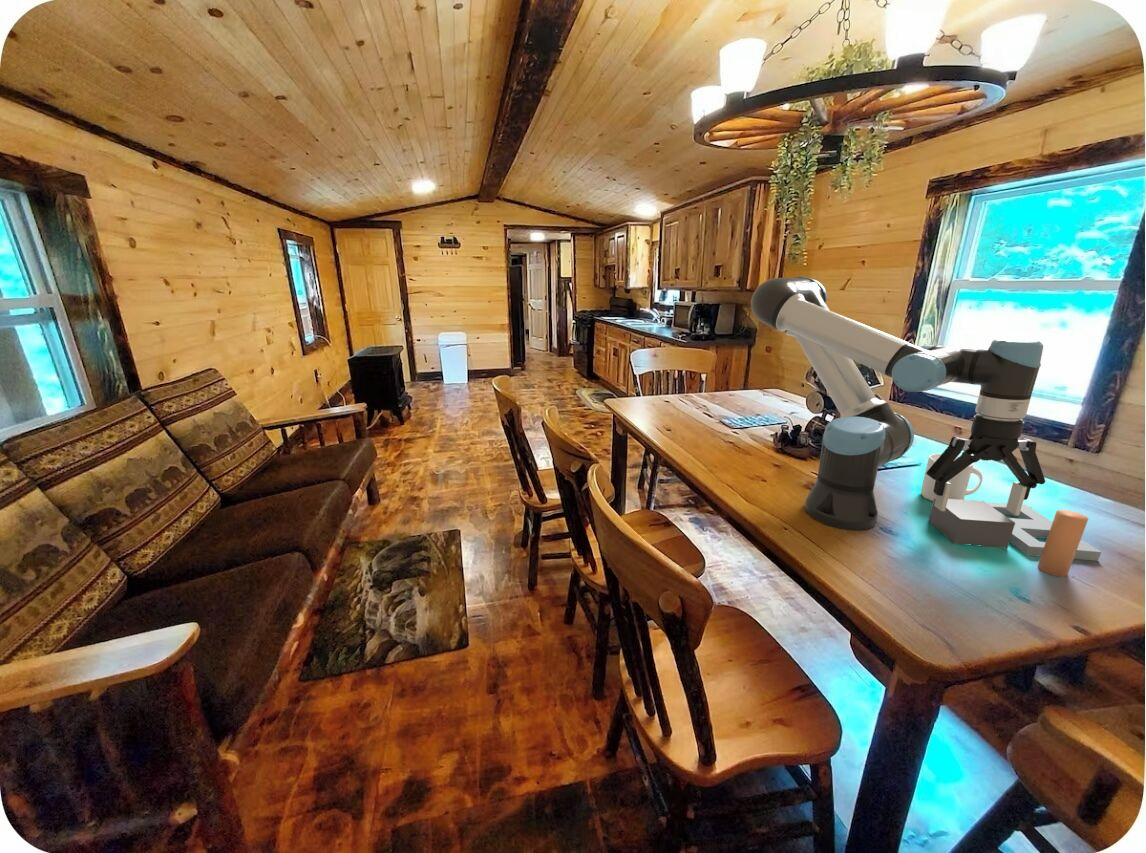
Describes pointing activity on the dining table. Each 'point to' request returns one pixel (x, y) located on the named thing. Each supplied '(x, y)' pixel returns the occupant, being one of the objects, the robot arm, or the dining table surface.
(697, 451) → the dining table surface
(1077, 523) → the peg
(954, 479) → the mug
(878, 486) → the dining table surface
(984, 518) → the cover
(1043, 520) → the socket board
